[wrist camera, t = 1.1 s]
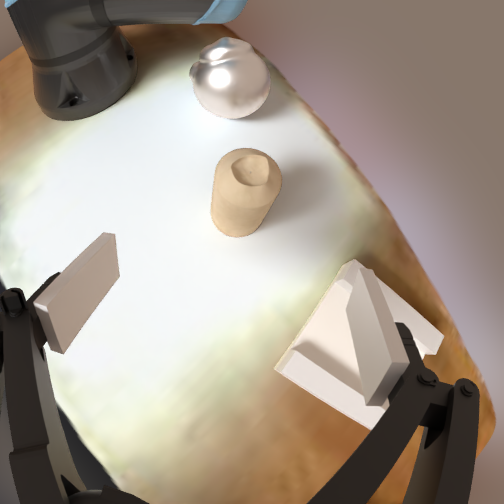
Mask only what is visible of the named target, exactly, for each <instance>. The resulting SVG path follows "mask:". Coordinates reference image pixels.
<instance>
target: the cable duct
mask: <svg viewBox="0 0 504 504" xmlns="http://www.w3.org/2000/svg"><path fill="white" fill-rule="evenodd" d="M359 268H365V267H364V266H363V265H362V264H360V263H359V262H358V261H357V260H356V259H354V260H352V261H349V262H347V263H345V264H343V265H342V267H341V268H340V270H339V271H338V273H337V275H336V276H335V278H334V279H333V281H332V283H331V284H330V286H329V287H328V289H327V290H326V292H325V294H324V295H323V297H322V298H321V300H320V301H319V303H318V304H317V306H316V307H315V309H314V310H313V312H312V313H311V315H310V316H309V318H308V319H307V321H306V322H305V324H304V325H303V327H302V328H301V330H300V331H299V333H298V334H297V336H296V337H295V339H294V340H293V341H292V343H291V344H290V346H289V347H288V349H287V350H286V351H285V353H284V354H283V356H282V357H281V358H280V360H279V361H278V363H277V364H276V365H275V367H274V368H273V369H275V370H276V371H277V372H279V373H280V374H282V375H283V376H285V377H286V378H288V379H289V380H291V381H292V382H294V383H295V384H297V385H298V386H300V387H302V388H303V389H305V390H306V391H308V392H309V393H311V394H312V395H314V396H316V397H317V398H319V399H320V400H322V401H323V402H325V403H327V404H328V405H330V406H331V407H333V408H335V409H336V410H338V411H340V412H341V413H343V414H345V415H346V416H348V417H350V418H351V419H353V420H355V421H356V422H358V423H360V424H361V425H363V426H365V427H367V428H368V429H370V430H372V429H373V427H374V426H375V425H376V423H377V422H378V421H379V419H380V418H381V417H382V415H383V414H384V412H385V411H386V410H387V408H388V407H389V406H390V405H389V401H388V398H387V399H386V401H385V402H384V404H383V405H382V406H366V405H365V399H364V394H363V388H362V383H361V378H360V373H359V368H358V363H357V358H356V353H355V349H354V344H353V339H352V335H351V331H350V326H349V322H348V318H347V313H346V307H347V304H348V301H349V298H350V295H351V292H352V289H353V286H354V283H355V280H356V276H357V273H358V270H359ZM365 269H367V268H365ZM376 279H377V281H378V283H379V285H380V288H381V290H382V292H383V295H384V297H385V300H386V302H387V304H388V307H389V309H390V312H391V314H392V317H393V319H394V322H401V323H404V324H405V325H406V326H407V327H408V328H409V329H410V331H411V333H412V336H413V340H414V341H415V343H416V346H417V348H418V350H419V353H420V355H421V358H422V359H423V357H424V355H425V354H433V355H436V353H437V351H438V349H439V346H440V344H441V342H442V340H443V338H444V335H443V334H442V333H440V332H439V331H438V330H437V329H436V328H435V327H434V326H433V325H432V324H430V323H429V322H428V321H427V320H426V319H425V318H424V317H423V316H421V315H420V314H419V313H418V312H417V311H416V310H415V309H414V308H412V307H411V306H410V305H409V304H408V303H407V302H406V301H404V300H403V299H402V298H401V297H400V296H399V295H397V294H396V293H395V292H394V291H393V290H392V289H390V288H389V287H388V286H387V285H386V284H384V283H383V282H382V281H381V280H380V279H379V278H377V277H376Z"/></svg>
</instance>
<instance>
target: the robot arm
mask: <svg viewBox="0 0 504 504" xmlns="http://www.w3.org/2000/svg"><path fill="white" fill-rule="evenodd" d="M246 2H247V0H5V7H6V8H7V10H8V12H9V14H10V17H11V19H12V21H13V24H14V26H15V28H16V30H17V32H18V35H19V37H20V39H21V41H22V43H23V45H24V47H25V49H26V52H27V54H28V55H29V58H30V60H31V62H32V68H33V84H34V95H35V98H36V101H37V103H38V104H39V106H40V108H41V110H42V111H43V112H44V114H46V115H47V116H48V117H50V118H52V119H56V120H61V121H70V120H77V119H82V118H85V117H88V116H91V115H94V114H96V113H98V112H100V111H102V110H104V109H106V108H107V107H109V106H110V105H112V104H113V103H115V102H116V101H117V100H118V99H120V98H121V97H122V96H123V95H124V94H125V93H126V92H127V90H128V89H129V88H130V87H131V85H132V84H133V82H134V80H135V78H136V75H137V70H138V65H137V59H136V53H135V50H134V48H133V46H132V45H131V43H130V42H129V41H128V39H127V38H126V36H125V35H124V33H123V32H122V30H121V29H120V28H119V26H122V25H137V24H191V25H198V24H201V23H217V24H223V23H227V22H229V21H232V20H234V19H235V18H237V17H238V15H239V14H240V13H241V11H242V10H243V8H244V6H245V5H246ZM119 277H120V274H119V266H118V258H117V249H116V239H115V234H111V233H104V232H103V233H102V234H101V235H100V236H99V237H98V238H97V239H96V240H95V241H94V242H93V243H91V244H90V245H89V246H88V247H87V248H86V249H85V250H84V251H83V252H82V253H81V254H80V255H79V256H78V257H77V258H76V259H75V260H74V261H73V262H72V263H71V264H70V265H69V266H68V267H67V268H66V269H65V270H64V271H63V272H62V273H60V272H58V273H56V274H54V275H52V276H51V277H49V278H48V279H47V280H46V281H45V282H44V284H42V285H41V286H40V288H39V289H38V290H37V291H36V292H35V293H34V294H33V295H32V296H31V297H30V298H29V299H28V300H27V301H26V299H25V296H24V293H23V290H21V289H20V288H10V289H8V290H6V291H4V292H3V293H2V294H1V295H0V306H1V309H2V312H0V414H1V405H2V399H3V392H4V386H5V388H6V400H7V409H8V416H9V423H10V430H11V436H12V442H13V447H14V451H13V452H10V454H9V460H10V465H11V470H12V474H13V478H14V482H15V486H16V490H17V494H18V497H19V500H20V504H149V503H147V502H145V501H143V500H141V499H140V498H138V497H136V496H134V495H132V494H129V493H126V492H123V491H120V490H117V489H114V488H111V487H109V486H106V485H104V487H103V490H88V491H87V489H86V487H85V485H84V484H83V482H82V481H81V479H80V477H79V476H78V473H77V471H76V468H75V465H74V462H73V460H72V457H71V454H70V451H69V448H68V445H67V441H66V438H65V435H64V432H63V428H62V425H61V421H60V417H59V414H58V410H57V406H56V402H55V398H54V393H53V389H52V384H51V380H50V375H49V370H48V364H47V359H46V353H45V349H44V347H43V346H44V344H45V343H46V342H48V344H49V347H50V349H51V350H52V351H55V352H58V353H61V354H64V353H65V352H66V350H67V349H68V347H69V346H70V344H71V343H72V341H73V340H74V338H75V337H76V335H77V334H78V333H79V331H80V330H81V328H82V327H83V325H84V324H85V323H86V321H87V320H88V318H89V317H90V316H91V314H92V313H93V311H94V310H95V309H96V307H97V306H98V305H99V303H100V302H101V301H102V299H103V298H104V297H105V295H106V294H107V293H108V291H109V290H110V289H111V287H112V286H113V285H114V283H115V282H116V281H117V279H118V278H119ZM346 313H347V318H348V322H349V326H350V331H351V335H352V339H353V344H354V349H355V353H356V358H357V363H358V368H359V373H360V378H361V383H362V388H363V394H364V399H365V405H366V406H382V405H383V404H384V402H385V401H386V399H387V398H388V401H389V405H390V406H389V407H388V408H387V410H386V411H385V412H384V414H383V415H382V417H381V418H380V419H379V421H378V422H377V423H376V425H375V426H374V427H373V429H372V430H371V431H370V433H369V434H368V435H367V437H366V438H365V439H364V440H363V442H362V443H361V444H360V445H359V447H358V448H357V449H356V450H355V451H354V453H353V454H352V455H351V456H350V457H349V459H348V460H347V461H346V462H345V463H344V464H343V466H342V467H341V468H340V469H339V470H338V471H337V472H336V473H335V474H334V476H333V477H332V478H331V479H330V480H329V481H328V482H327V483H326V484H325V485H324V486H323V487H322V488H321V489H320V490H319V492H318V493H317V494H316V495H315V496H314V497H313V498H312V499H311V500H310V501H309V502H308V503H307V504H366V503H367V502H368V500H369V499H370V498H371V496H372V495H373V494H374V493H375V491H376V490H377V488H378V487H379V486H380V484H381V483H382V482H383V480H384V479H385V477H386V476H387V474H388V473H389V472H390V470H391V469H392V467H393V466H394V464H395V463H396V461H397V460H398V458H399V457H400V455H401V453H402V452H403V450H404V449H405V447H406V445H407V444H408V442H409V440H410V439H411V437H412V435H413V434H414V432H415V430H416V429H417V427H418V425H420V426H424V431H423V435H422V439H421V443H420V447H419V451H418V455H417V459H416V462H415V466H414V469H413V473H412V476H411V479H410V482H409V485H408V488H407V491H406V494H405V497H404V500H403V503H402V504H468V500H469V495H470V490H471V484H472V478H473V472H474V464H475V457H476V448H477V437H478V424H479V398H480V394H479V389H478V387H477V386H476V384H475V383H473V382H472V381H471V380H469V379H465V378H462V379H459V380H457V381H456V383H455V384H454V385H450V384H446V383H443V382H440V381H439V379H438V377H437V375H436V374H435V373H434V372H433V371H431V370H430V369H428V368H425V366H424V363H423V361H422V358H421V355H420V353H419V350H418V348H417V346H416V343H415V341H414V340H413V336H412V333H411V331H410V329H409V328H408V327H407V326H406V325H405V324H404V323H401V322H394V319H393V317H392V314H391V312H390V309H389V307H388V304H387V302H386V300H385V297H384V295H383V292H382V290H381V288H380V285H379V283H378V281H377V279H376V276H375V274H374V272H373V270H372V269H365V268H359V270H358V273H357V276H356V280H355V283H354V286H353V289H352V292H351V295H350V298H349V301H348V304H347V307H346Z"/></svg>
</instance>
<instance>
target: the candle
mask: <svg viewBox="0 0 504 504" xmlns="http://www.w3.org/2000/svg"><path fill="white" fill-rule="evenodd" d="M281 186H282V175H281V172H280V169H279V167H278V165H277V164H276V162H275V161H274V160H273V159H272V158H271V157H270V156H268V155H267V154H265V153H264V152H261V151H259V150H256V149H251V148H241V149H236V150H233V151H231V152H229V153H227V154H226V155H225V156H223V157H222V158H221V160H220V161H219V162H218V164H217V166H216V170H215V175H214V184H213V193H212V202H211V218H212V220H213V223H214V225H215V226H216V227H217V229H218V230H219V231H221V232H222V233H224V234H225V235H228V236H231V237H244V236H247V235H249V234H251V233H253V232H254V231H255V230H256V229H257V228H258V227H259V225H260V224H261V222H262V221H263V219H264V217H265V216H266V214H267V212H268V211H269V209H270V207H271V206H272V204H273V202H274V201H275V199H276V197H277V196H278V194H279V192H280V189H281Z"/></svg>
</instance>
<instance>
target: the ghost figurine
mask: <svg viewBox="0 0 504 504" xmlns="http://www.w3.org/2000/svg"><path fill="white" fill-rule="evenodd" d="M189 76H190V79H191V81H192V82H193V88H194V93H195V96H196V98H197V100H198V101H199V103H200V104H201V106H202V107H203V108H204V109H206V110H207V111H208V112H210V113H211V114H213V115H215V116H218V117H221V118H227V119H235V118H241V117H245V116H247V115H250V114H251V113H253V112H255V111H256V110H257V109H259V108H260V107H261V106H262V104H263V103H264V102H265V100H266V99H267V97H268V94H269V91H270V86H271V78H270V73H269V70H268V68H267V66H266V64H265V62H264V61H263V60H262V59H261V58H260V57H259V56H258V55H257V54H256V53H255V52H254V49H253V47H252V45H251V44H249V43H248V42H245V41H242V40H239V39H233V38H230V37H223V38H221V39H219V40H217V41H216V42H214V43H213V44H210V45H207V46H206V47H204V48H203V49H202V51H201V53H200V61H199V62H196V63H195V64H193V66H192V67H191V69H190V73H189Z"/></svg>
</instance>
